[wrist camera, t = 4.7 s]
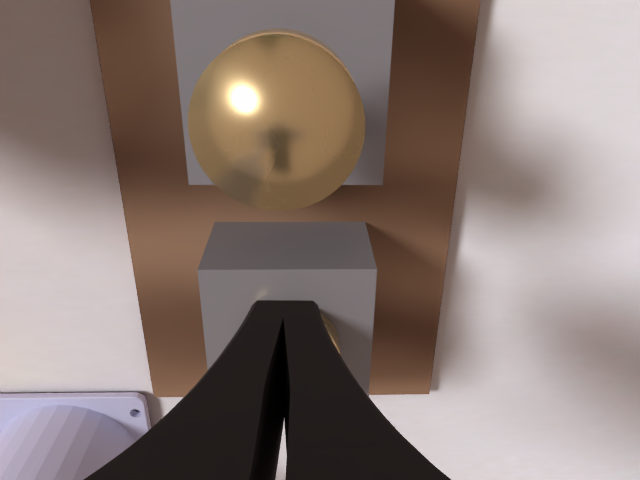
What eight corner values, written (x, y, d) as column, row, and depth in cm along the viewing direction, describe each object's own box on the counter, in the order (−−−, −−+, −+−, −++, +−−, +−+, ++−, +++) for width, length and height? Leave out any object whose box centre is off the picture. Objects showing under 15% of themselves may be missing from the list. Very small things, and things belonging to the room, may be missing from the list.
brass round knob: (344, 141, 17) (361, 210, 12) (228, 141, 17) (196, 211, 12) (348, 16, 15) (370, 36, 10) (219, 15, 15) (178, 34, 10)
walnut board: (426, 385, 26) (429, 394, 26) (157, 388, 26) (153, 397, 25) (491, -134, 17) (498, -138, 16) (74, -142, 17) (66, -146, 16)
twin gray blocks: (358, 343, 24) (368, 405, 21) (224, 344, 24) (211, 407, 21) (378, -30, 18) (396, -31, 14) (193, -32, 17) (166, -34, 14)
